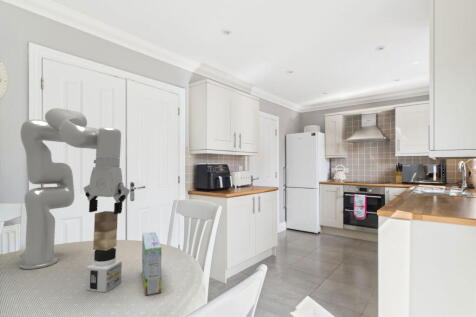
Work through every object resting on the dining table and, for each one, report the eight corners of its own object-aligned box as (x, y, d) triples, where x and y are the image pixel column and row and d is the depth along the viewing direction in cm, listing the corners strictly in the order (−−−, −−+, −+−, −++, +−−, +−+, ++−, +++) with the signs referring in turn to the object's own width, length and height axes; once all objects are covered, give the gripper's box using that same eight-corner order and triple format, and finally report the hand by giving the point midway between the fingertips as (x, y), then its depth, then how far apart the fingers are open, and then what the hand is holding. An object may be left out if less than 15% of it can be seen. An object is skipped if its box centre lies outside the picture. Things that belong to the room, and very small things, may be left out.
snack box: (140, 271, 99) (141, 232, 100) (155, 269, 102) (156, 231, 102) (143, 296, 80) (145, 248, 81) (162, 293, 82) (163, 246, 83)
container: (105, 293, 82) (107, 252, 82) (85, 290, 83) (86, 250, 84) (121, 282, 89) (122, 245, 90) (102, 280, 91) (103, 243, 92)
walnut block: (94, 231, 85) (94, 213, 85) (104, 228, 90) (105, 211, 90) (107, 232, 84) (107, 214, 84) (117, 228, 89) (117, 211, 89)
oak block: (93, 249, 85) (93, 231, 85) (103, 245, 90) (104, 228, 90) (106, 250, 84) (107, 232, 84) (116, 246, 89) (116, 228, 89)
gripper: (77, 162, 87) (75, 212, 86) (123, 164, 83) (120, 216, 83) (94, 162, 94) (91, 209, 93) (136, 164, 91) (134, 212, 90)
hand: (105, 212), depth 88 cm, fingers open, 9 cm apart
